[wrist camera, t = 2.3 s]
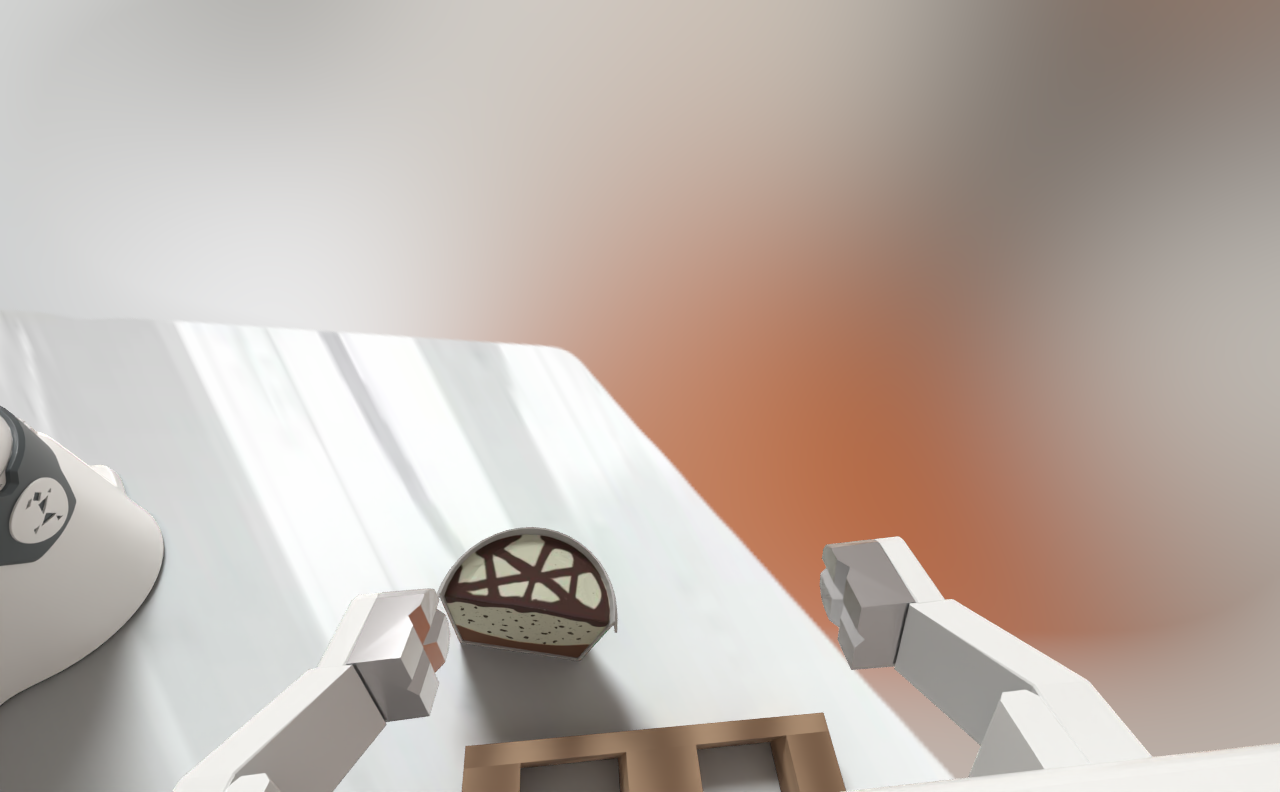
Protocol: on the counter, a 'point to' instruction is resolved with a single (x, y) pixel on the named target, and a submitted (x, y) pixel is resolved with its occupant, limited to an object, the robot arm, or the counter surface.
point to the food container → (530, 594)
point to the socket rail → (667, 755)
